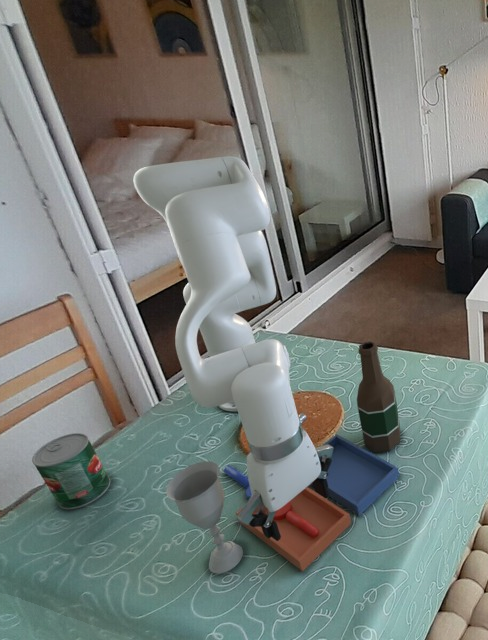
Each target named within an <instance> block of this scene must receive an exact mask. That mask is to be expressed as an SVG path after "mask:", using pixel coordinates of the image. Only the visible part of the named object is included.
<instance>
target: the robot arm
mask: <svg viewBox="0 0 488 640" xmlns="http://www.w3.org/2000/svg"><path fill="white" fill-rule="evenodd" d="M132 179H133V180H132V181H133V185H134V189H135V191H136V192H137V194H138V196H139V197H140V198H141V200H142V201H143V202H144V203H145V204H146V205H147V206H149V207H150V208H151V209H153V210H155V211H156V212H157V213H159V215H160V216H162V218H163V220H164V221H165V222H166V224H167V225H166V226H167V227H168V230H169V233H170V236H171V239H172V242H173V245H174V248H175V251H176V254H177V257H178V259H179V262H180V264H181V266H182V268H183V270H184V274H185V276H186V279H187V281H188V282H187V284H185V286H184V288H183V291H182V294H183V299H184V302H185V304H186V305H184V308H183V310H182V312H181V314H180V316H179V319H178V321H177V324H176V329H175V337H174V340H175V343H174V344H175V350H176V355H177V358H178V362H179V364H180V367H181V371H182V374H183V377H184V380H185V382H186V385H187V388H188V391H189V393H190V395H191V397H192V399H193V400H194V402H195V403H196V404H198V405H199V406H200V407H203V408H209V409H210V408H217V407H219V409H221V410H223V411H226V412H238V417H239V419H240V422H241V425H242V428H243V432H244V434H245V438H246V440H247V444H248V447H249V450H250V452H249V453H248V454H247V456H246V473H247V478H248V480H249V485H250V489H251V493H252V496H251V498H250V499H248V500H247V501H246V503H245V504H244V506H243V507H242V508H243V509H242V510H241V511H240V513H239V514H238V515H236V519H237V520H238V522H239V521H241V522H242V523H244V524H247V525H250V526H252V527H261V528H262V531H263V533H264V535H265V536H266V537H267V538H270V537H272V538H274V539H275V540H276V541H278V540H280V538H281V535H280V532H279V529H278V526H277V523H276V522H275V521H274V520H273V519H274V516H275V514H276V511H277V510H279V509H280V508H282V507H283V506H284V505H286V504H287V503H288V502H289V501H290V500H292V499H293V498H294V497H295V496H297V495H298V494H299V493H300V492H301V491H303V490H304V489H305V488H306V487H309V486H310V485H311V483H313V486H312V487H313V491H315V492H316V493H318V494H319V495H321V496H322V497H324V498H325V499H327V498H328V497H329V492H328V483H327V479H326V478H327V477H328V475H329V473H328V472H327V471H328V469H329V467H330V465H331V462H332V460H331V457H332V454H333V450H334V448H333V447H332V446H330V445H328V444H327V445H324V446H322V445H321V446H318V447H317V446H316V447H315V445H314V443H313V441H312V440H311V438H310V436H309V434H308V433H307V431H306V430H305V429H304V428H303V423H304V422H305V421H307V418H308V417H307V415H306V414H305V413H303V412H301V413H299V414H298V410H297V407H296V402H295V399H294V395H293V391H292V388H291V380H290V369H291V367H292V366H291V358H290V354H289V352H288V349H287V347H286V345H285V344H283V343H282V342H281V341H280V340H279V339H275V338H268V339H263V340H260V341H257V342H256V339H255V335H254V332H253V329H252V327H251V325H250V324H249V322H248V321H247V320H246V319H245V318H243V317H242V316H240V315H239V314H238V313H241V312H243V311H247V310H251V309H254V308H258V307H261V306H264V305H267V304H269V303H272V302H273V301H274V300H275V298H276V296H277V285H276V280H275V275H274V270H273V265H272V262H271V256H270V252H269V248H268V244H267V241H266V238H265V236H264V233H263V231H264V230H265V229H267V228H268V227H269V225H270V223H271V212H270V207H269V205H268V201H267V198H266V197H265V194H264V192H263V190H262V188H261V186H260V184H259V182H258V181H257V180H256V178H255V176H254V175H253V173H252V171H251V170H250V168H249V166H248V165H247V164H246V163H245V161H244V160H243V159H242V158H240V157H238V156H232V155H226V156H218V157H217V156H216V157H209V158H202V159H195V160H194V159H193V160H183V161H175V162H167V163H159V164H153V165H149V166H144V167H141V168H139V169H138V170H137V171H136V172H134V175H133V178H132ZM199 331H200V335H201V337H202V339H203V342H204V345H205V348H206V351H207V355H208V356H209V357H206V358H202V356H201V354H200V352H199V347H198V333H199ZM321 456H322V457H321ZM319 457H321V459H320V461H319ZM259 504H260V505H259ZM258 506H259V507H258ZM257 507H258V510H257V512H256V514H253V512H254V511H255V510H256V508H257ZM266 509H268V512H267V515H266V514H265V511H266Z"/></svg>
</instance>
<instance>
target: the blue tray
mask: <svg viewBox="0 0 488 640" xmlns="http://www.w3.org/2000/svg"><path fill="white" fill-rule="evenodd" d="M327 444H328V445H330V446H332V447H333V448H334V450H333V454H332V457H331V460H332V462H331V465H330V467H329V469H328V471H327V472H328V473H329V475H328V477H327V478H326V479H327V483H328V492H329V496H328V497H329V498H331V499H332V500H334V501H336V502H337V503H339V504H340V505H342V506H343V507H345V508H347V509H348V510H350V511H351V512H353V513H354V514H356V515H358V516H359V517H360V516H361V515H362V514H363V513H364V512H365V511H366V510H367V509H368V508H369V507H370V506H372V504H373V503H374V502H376V501H377V499H378V498H380V497H381V495H382V494H384V492H386V491H387V489H388V488H389V487H391V485H393V484H394V483H395V482H396V480H398V479H399V478H400V473H399V468H398V466H396V465H394V464H392V463H391V462H389V461H388V460H387V461H386V460H385V459H383V458H381V457H379V456H378V455H377V454H374V453H372V452H370V451H368V450H367V449H365V448H363V447H361V446H360V445H358V444H355V443H354V442H352V441H351V440H349V439H347V438H345V437H343V436H341V435H340V434H337V433H336V434H335V435H334V436H332V437H331V438H329V440H327V441H326V442H325V443H323V444H321V446H324V445H327ZM321 457H322V456H321ZM321 457H319V461H320V459H321ZM310 485H311V486H312V487H313V483H311V484H310Z"/></svg>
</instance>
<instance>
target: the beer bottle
mask: <svg viewBox="0 0 488 640" xmlns="http://www.w3.org/2000/svg"><path fill="white" fill-rule="evenodd" d="M378 349H379V346H378V344H377V343H376V342H374V341H365V342H362V343H361V344H359V346H358V352H357V353H358V355H360V365H361V374H362V375H361V376H362V380H361V381H360V382H359V384H358V389H357V395H356V404H357V405H356V406H357V411H358V416H359V422H360V426H361V433H362V437H363V441H364V445H365V447H366V448H367V449H368V450H370V451H372V452H373V453H375V454H380V453H386V452H390V451H392V450H393V449H394V448H396V446H398V445H399V444H400V443H401V424H400V418H399V411H398V410H399V409H398V405H397V404H398V403H397V397H396V391H395V387H394V385H393V383H392V382H391V380H390V379H389V378H387V377H386V376H385V375H384V373H383V370H382V367H381V366H382V365H381V362H380V358H379V354H378V353H379V351H378Z"/></svg>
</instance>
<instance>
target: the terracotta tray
mask: <svg viewBox="0 0 488 640" xmlns="http://www.w3.org/2000/svg"><path fill="white" fill-rule="evenodd" d="M290 503H291V506H292V510H291V511H293V512H295V513H296V514H297V515H299V516H300V517H302V518H303V519H305V520H306V521H307V522H309V523H310V524H312V525H313V526H315V527H316V528H317V529H318V530H319V534H318V536H317V537H315V538H312V537H311V536H309V535H308V534H306V533H305V532H304V531H302V530H301V529H299V528H298V527H297V526H295V525H294V524H292V523H291V522H290V521H288V520H287V519H286V517H285V518H283V519H281V520H274V519H273V520H274V521H275V522H276V523H277V526H278V529H279V532H280V535H281V538H280V540H278V541H276V540H275V539H274V538H272V537H270V538H267V537H266V536H265V535H264V533H263V531H262V528H261V527H252V526H250V525H247V524H244V523H242V522H241V521H239V520H238V523H239V524H240V525H242V526H244V527H245V528H246V529H247V530H249V532H251V533H252V534H253V535H255V536H256V537H257V538H259V539H260V540H261V541H262V542H264V543H265V544H266V545H268V546H269V547H270V548H271V549H273V550H274V551H275V552H277V553H278V554H279V555H280V556H282V557H283V558H285V559H286V560H287V561H288V562H289V563H291V564H292V565H293V566H295V567H296V568H297V569H299V570H300V571H301V572H304V571H305V570H307V568H308V567H309V566H310V565H311V564H312V563H313V562H314V561H315V560H316V559H318V557H319V556H320V555H321V554H322V553H323V552H324V551H326V549H327V548H328V547H330V545H331V544H332V543H333V542H334V541H336V539H337V538H338V537H339V536H341V534H342V533H344V532H345V531H346V530H347V528H349V527H350V526H351V525H352V520H351V515H350V513H348V512H347V511H345V510H344V509H343V508H341V507H339V506H338V505H336V504H335V503H333V502H332V501H330V500H328V499H327V498H324V497H323V496H321V495H320V494H318V493H316V492H315V490H314V489H312V488H310V487H309V486H307V487H306V488H305V489H304V490H303V491H301V492H300V493H299V494H298V495H297V496H295V497H294V498H293V499H292V500H290ZM259 505H260V504H259ZM258 507H259V506H258ZM258 507H257V508H256V510H255V511H254V512H253V514H256V512H257V510H258ZM242 509H243V507H242V508H240V509H238V510H237V511H236V512H235V515H236V516H237V515H238V514H239V513H240V511H241V510H242ZM267 512H268V509H266V511H265V514H266V515H267Z"/></svg>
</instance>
